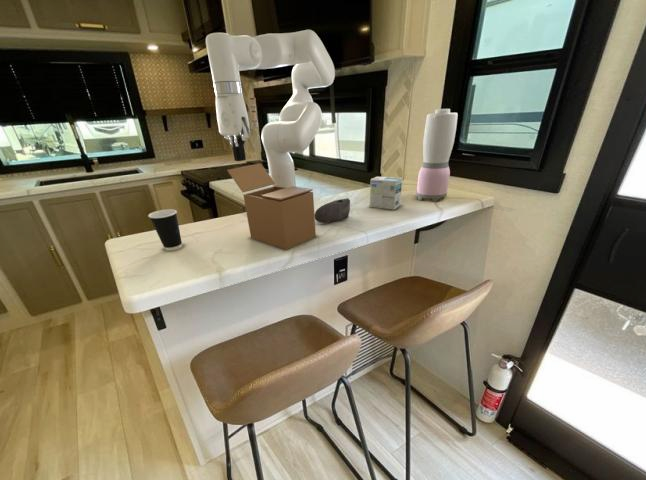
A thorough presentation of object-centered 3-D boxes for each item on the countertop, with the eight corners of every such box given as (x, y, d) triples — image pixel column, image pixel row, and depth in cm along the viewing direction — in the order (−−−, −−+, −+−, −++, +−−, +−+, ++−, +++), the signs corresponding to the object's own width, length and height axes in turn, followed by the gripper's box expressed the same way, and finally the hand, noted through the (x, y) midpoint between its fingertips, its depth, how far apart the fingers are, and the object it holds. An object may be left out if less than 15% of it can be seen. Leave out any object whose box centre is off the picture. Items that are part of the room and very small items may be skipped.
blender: (441, 202, 124) (456, 109, 107) (411, 199, 130) (421, 110, 113) (450, 193, 135) (465, 107, 118) (423, 191, 141) (433, 109, 124)
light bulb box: (400, 205, 123) (403, 177, 118) (394, 210, 119) (396, 180, 113) (375, 203, 128) (377, 175, 123) (369, 207, 124) (370, 179, 118)
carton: (251, 238, 101) (242, 191, 93) (280, 227, 109) (275, 183, 101) (286, 249, 91) (280, 198, 83) (315, 236, 99) (312, 189, 91)
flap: (243, 191, 93) (242, 192, 94) (275, 183, 101) (274, 184, 101) (227, 169, 94) (227, 170, 94) (260, 163, 102) (260, 164, 102)
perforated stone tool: (318, 226, 107) (317, 206, 103) (311, 222, 111) (310, 203, 107) (355, 218, 112) (355, 199, 109) (347, 215, 116) (347, 196, 113)
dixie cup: (156, 248, 98) (144, 213, 92) (181, 240, 102) (170, 207, 97) (165, 254, 93) (153, 218, 87) (191, 246, 97) (180, 212, 92)
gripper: (203, 92, 90) (217, 160, 100) (232, 88, 81) (244, 163, 91) (225, 92, 95) (236, 157, 104) (255, 88, 86) (264, 160, 95)
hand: (240, 160), depth 97 cm, fingers closed
